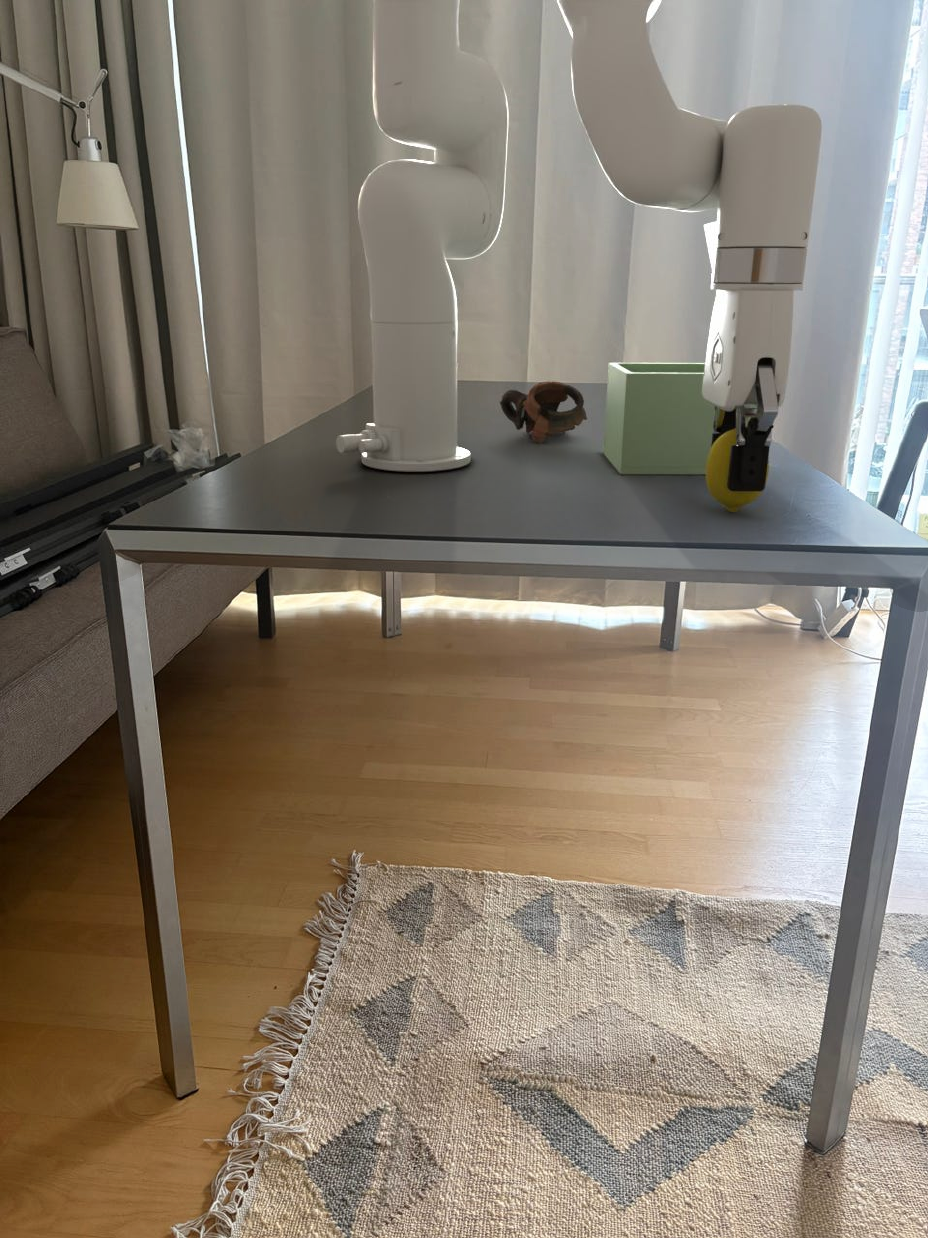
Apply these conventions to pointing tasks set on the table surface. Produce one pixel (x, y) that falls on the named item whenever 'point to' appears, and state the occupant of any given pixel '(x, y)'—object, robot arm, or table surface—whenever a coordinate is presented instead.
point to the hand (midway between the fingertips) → (735, 480)
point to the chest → (658, 418)
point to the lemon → (726, 474)
